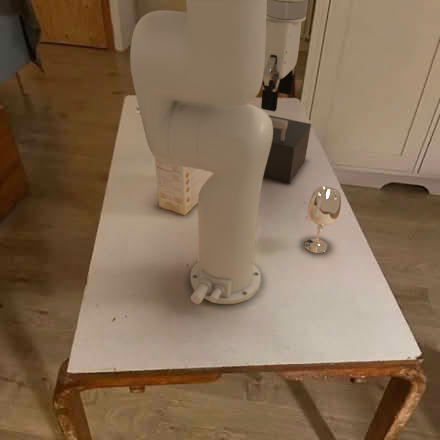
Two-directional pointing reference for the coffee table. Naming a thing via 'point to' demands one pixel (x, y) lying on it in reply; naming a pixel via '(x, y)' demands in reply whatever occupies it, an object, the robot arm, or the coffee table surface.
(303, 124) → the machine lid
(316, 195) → the wineglass
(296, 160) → the trash bin
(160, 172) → the coffeecake box
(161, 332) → the coffee table surface
